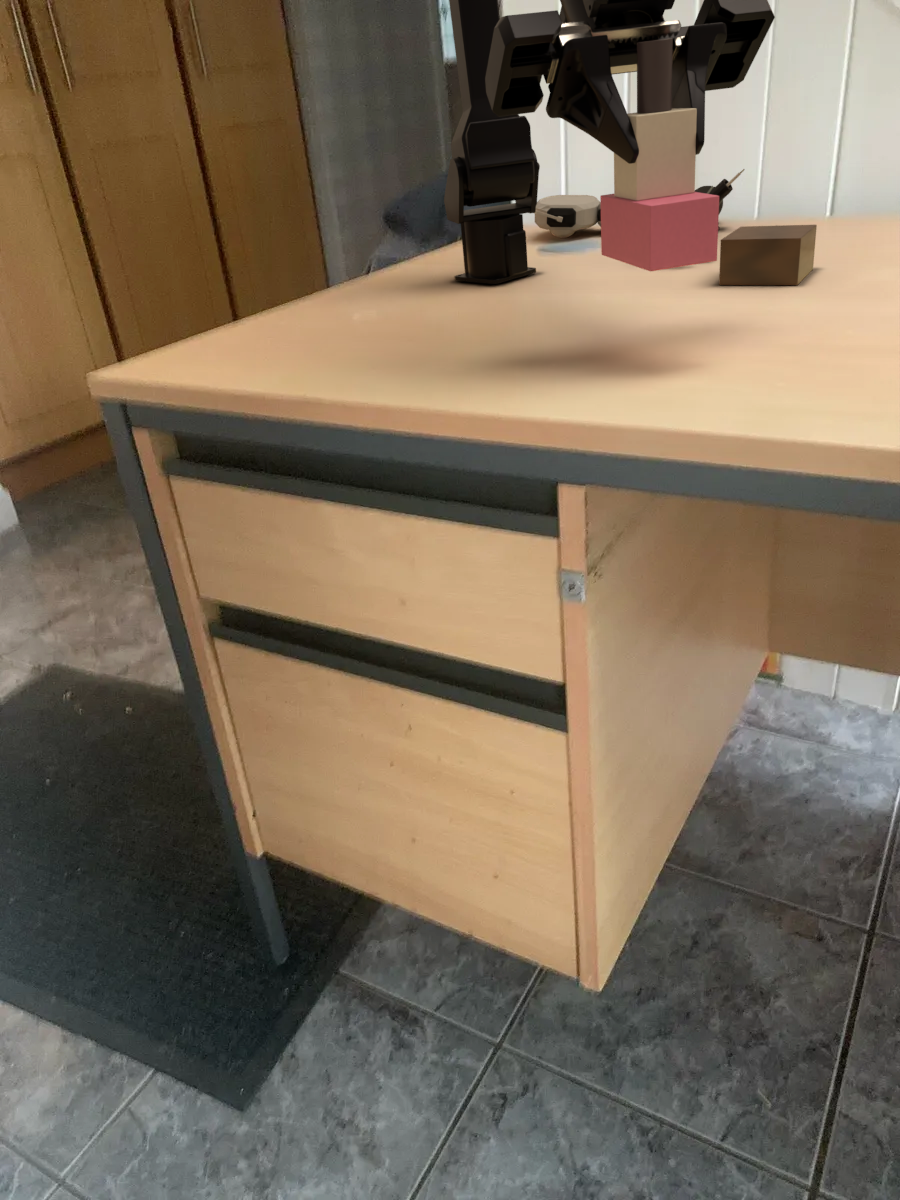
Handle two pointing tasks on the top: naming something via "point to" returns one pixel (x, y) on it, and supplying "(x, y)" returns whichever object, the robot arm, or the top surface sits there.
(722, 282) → the block
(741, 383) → the top surface
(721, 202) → the submarine model
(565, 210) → the robot toy
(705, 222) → the pink and tan tower
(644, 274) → the top surface
